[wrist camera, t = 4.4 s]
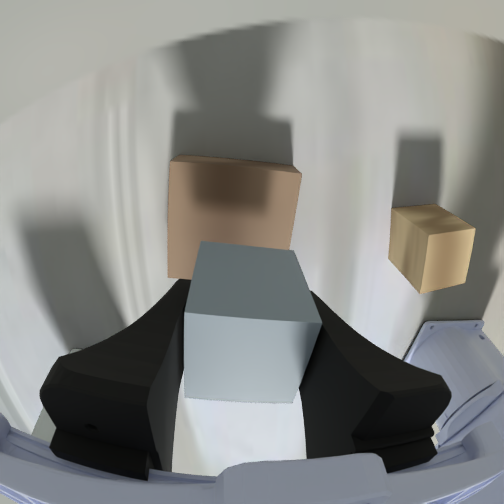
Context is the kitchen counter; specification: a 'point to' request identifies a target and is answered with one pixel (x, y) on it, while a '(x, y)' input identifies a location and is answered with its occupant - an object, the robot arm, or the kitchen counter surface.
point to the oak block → (430, 246)
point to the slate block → (247, 325)
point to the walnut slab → (227, 206)
